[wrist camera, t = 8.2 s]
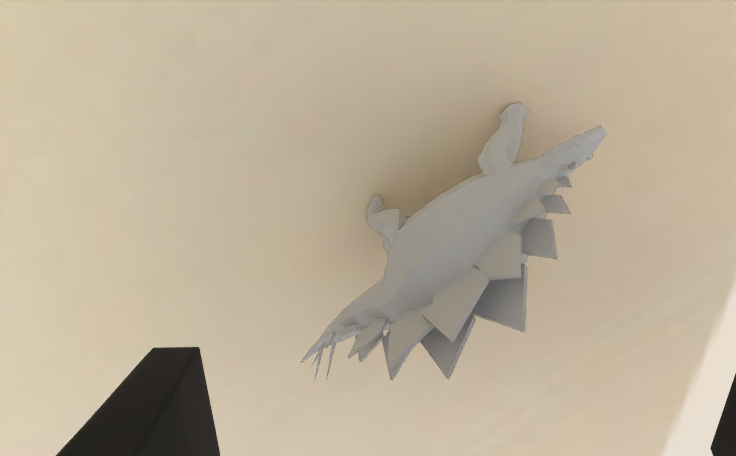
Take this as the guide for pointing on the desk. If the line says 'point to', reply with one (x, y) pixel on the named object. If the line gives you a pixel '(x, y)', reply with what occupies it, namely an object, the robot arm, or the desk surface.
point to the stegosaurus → (462, 252)
